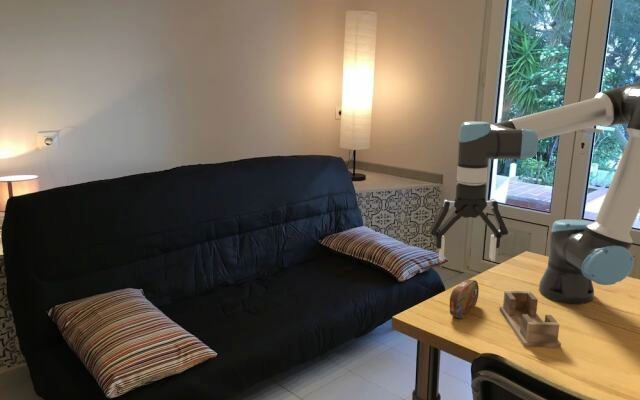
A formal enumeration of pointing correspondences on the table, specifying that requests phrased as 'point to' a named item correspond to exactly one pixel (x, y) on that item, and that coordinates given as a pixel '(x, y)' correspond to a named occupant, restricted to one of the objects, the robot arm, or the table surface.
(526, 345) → the rack
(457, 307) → the tin
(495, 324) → the table surface
